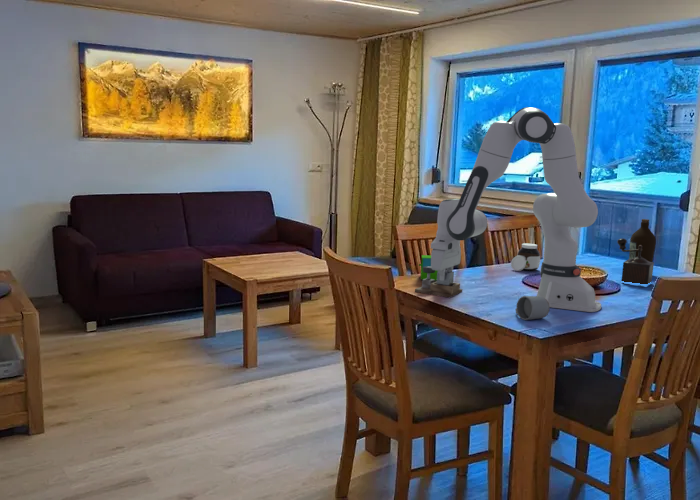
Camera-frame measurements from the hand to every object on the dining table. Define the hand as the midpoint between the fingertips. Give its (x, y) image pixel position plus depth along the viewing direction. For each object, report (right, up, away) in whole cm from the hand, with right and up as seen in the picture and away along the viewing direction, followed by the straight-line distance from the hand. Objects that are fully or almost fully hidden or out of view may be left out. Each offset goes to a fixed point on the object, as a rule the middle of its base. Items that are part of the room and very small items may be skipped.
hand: (445, 279), depth 237 cm
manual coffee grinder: (+83, -3, +33) cm, 90 cm away
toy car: (-2, -1, +25) cm, 25 cm away
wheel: (-6, 0, +4) cm, 7 cm away
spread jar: (+44, +1, +52) cm, 68 cm away
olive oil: (+96, 0, +53) cm, 109 cm away
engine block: (0, -2, 0) cm, 2 cm away
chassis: (-2, -5, +3) cm, 6 cm away
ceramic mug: (+23, -12, -29) cm, 39 cm away
